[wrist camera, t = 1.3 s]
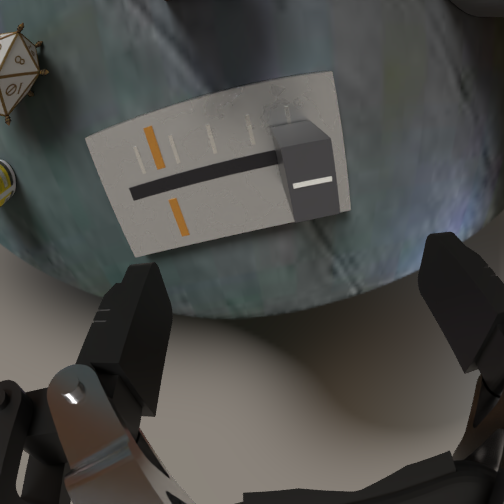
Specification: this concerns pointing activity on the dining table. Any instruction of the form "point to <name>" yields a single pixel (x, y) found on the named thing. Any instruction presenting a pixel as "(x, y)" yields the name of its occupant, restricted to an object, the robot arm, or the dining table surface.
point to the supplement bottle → (6, 182)
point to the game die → (17, 70)
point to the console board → (211, 161)
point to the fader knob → (307, 170)
